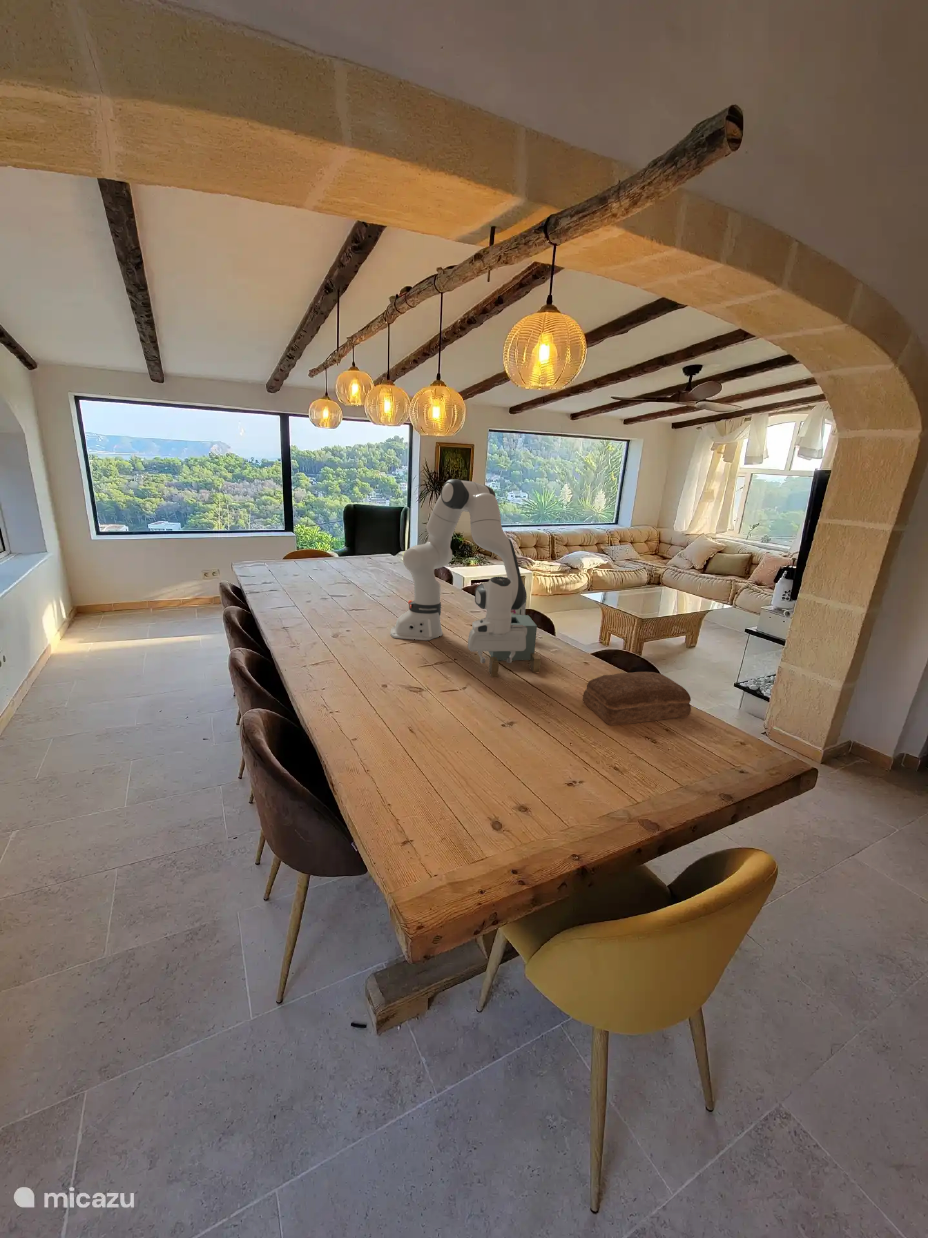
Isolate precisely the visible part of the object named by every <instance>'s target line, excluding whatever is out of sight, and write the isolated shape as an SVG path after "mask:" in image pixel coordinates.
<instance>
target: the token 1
mask: <svg viewBox="0 0 928 1238" xmlns="http://www.w3.org/2000/svg"><path fill="white" fill-rule="evenodd" d="M499 667H500V662H499V660H497V658H496V657H491V656H489V659H488V673H489V676H490V678H499V670H500V669H499Z"/></svg>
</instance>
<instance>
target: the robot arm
mask: <svg viewBox="0 0 928 1238" xmlns="http://www.w3.org/2000/svg"><path fill="white" fill-rule="evenodd" d="M463 512H468V513H469V516H470V517H469V520H470V534H471V538H472V540H473V542H474V543H475V544H476V546H478V547H479V548H481V549H483V550H484V551H488V552H490V553H493V554H495V555H497V556H498V557H499V558H501V560H502V562H503V567H504V570H505V574H506V577H503V576H493V577H491V578H490V579H489V580H488V581H484V582H482V583H480V584H479V585H478V586H477V587H476V588H475V592H474V602H475V604H476V606H477V607H479V608H480V609H482V610H486V614H485V617H484V618H480V619H477V620H474V621H472V623H471V625H472V627H471V628H472V629H471V630H470V631H469V633H468V639H467V648H468V651H470V652H477V654H478V656H479V658H480V660H479V662H480V664H485V663H486V657H485V656H482V655H483V652H489V651H510V652H511V654H510V656H509V657H507V660H506V663H508V664H511V663H513V662H512V661H513V660H512V658H513V657H514V655H515V652H516V651H524V650H525V649H526V637H525V636H526V635H527V628H526V627H525V626H523V625H511V617H512V616H511V609H513V610H518V609H519V608H521V607H522V606H523V605H524V603H525V602H526V603H527V597H528V596H527V589H526V586H525V584H524V581H523V579H522V575H521V572H520V567H519V563H518V559H517V553H516V550H515V548H514V544H513V541H512V539H511V538H509V537H508V536H507V535H506V534H505V532H504V530H503V527H502V519H501V511H500V507H499V503H498V499H497V497H496V493H495V491H494V489H493V488H492V487H491V486H488V485H486V484H481V483H479V482H476V481H472V480H471V481H469V480H461V479H458V478H457V479H456V478H454V479H453V478H452V479H448V480H447V481H446V482H444V484H443V485H442V488H441V491H440V495H439V496H438V498H437V500H436V502H435V504H434V506H433V509H432V510H431V514H430V516H429V519H428V521H427V523H426V526H425V527H426V532H427V533H428V536H427V537H428V538H427V540H426V542H425V543H422V544H416V545H413V546H411V547H409V548H407V549H406V550H405V551H404V553H403V555H402V562H403V566H404V567H405V568H406V569H407V571H409V573H410V575H411V577H412V581H413V595H414V596H413V600H412V599H410V600H408V602H407V604H408V610H406V611H405V612H404V613H403V614H400V616H398V617H397V619H396V623H395V626H393V627H391V629H390V634H389V635H390V636H391V638H394V639H400V640H401V639H402V640H414V639H415V641H418V640H419V641H431V640H433V639H435V638H436V639H437V638H439V636H440V637H441V636H443V629H442V623H441V613H442V602H441V588H442V587H441V583H440V582H439V581H438V580H437V579H436V575H435V570H436V569H441V568H443V567H445V566H446V565H448V564H450V562H451V561H452V559H453V550H452V549H451V543H452V542H451V541H452V539H453V538H452V537H453V535H454V533H455V530H456V528H457V525H458V523H459V520H460V518H461V515H462V513H463ZM523 627H525V628H523Z"/></svg>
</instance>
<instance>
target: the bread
mask: <svg viewBox="0 0 928 1238" xmlns="http://www.w3.org/2000/svg"><path fill="white" fill-rule="evenodd" d="M691 698H692V697H691V696H690V694H689V692H688V690H687V689H685V687H683V686H682V685H680V684H679V683H677V682H676V681H674V680H673V679H671V678H669V677H668V676H665V675H664V674H663V673H658V672H654V671H635V672H624V673H623V672H622V673H615V674H606V675H605V674H604V675H601V676H598V677H596V678H592V679H590V680H588V682H587V684H586V689H585V691H583V695H582V702H583V704H584V703H585V704H584V705H586V706H587V707H588V708H589V709H590V708H591V710H592V712H594V713H595V714H596V716H598V717H599V718H600V719H601V720H602V721H603V722H604V723H606V725H609V726H618V725H619V726H620V725H630V724H636V723H637V724H638V723H644V722H653V721H660V720H666V719H675V718H682V719H684V718H688V717H689V716H690V714H691V711H692V706H691V704H690V703H691V700H692V699H691Z"/></svg>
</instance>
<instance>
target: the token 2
mask: <svg viewBox="0 0 928 1238" xmlns="http://www.w3.org/2000/svg"><path fill="white" fill-rule="evenodd" d="M541 662H542V658H541V657H540V655H539V654H538V653H537V652H534V653H531V655H530V661H529V669H530V668H531V669H530V671H531V672H532V673H533V672H541Z"/></svg>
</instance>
